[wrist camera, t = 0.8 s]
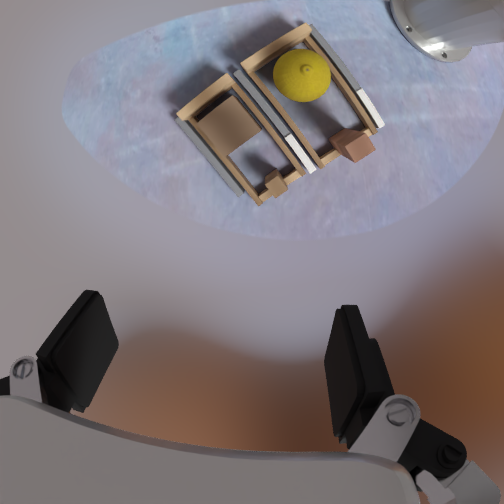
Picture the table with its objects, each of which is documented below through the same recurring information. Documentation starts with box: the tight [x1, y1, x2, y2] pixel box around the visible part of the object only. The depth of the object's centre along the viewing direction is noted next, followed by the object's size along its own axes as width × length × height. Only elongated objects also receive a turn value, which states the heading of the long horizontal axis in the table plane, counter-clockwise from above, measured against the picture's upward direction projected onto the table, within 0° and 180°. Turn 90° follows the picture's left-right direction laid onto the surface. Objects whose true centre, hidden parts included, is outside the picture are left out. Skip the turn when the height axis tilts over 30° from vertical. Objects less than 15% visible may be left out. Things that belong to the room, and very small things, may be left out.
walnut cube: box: [196, 95, 262, 158], centre depth 28 cm, size 4×4×4 cm
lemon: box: [273, 49, 331, 102], centre depth 24 cm, size 6×6×8 cm
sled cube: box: [176, 73, 306, 206], centre depth 29 cm, size 6×14×4 cm, turn 37°
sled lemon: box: [240, 23, 378, 169], centre depth 25 cm, size 8×14×8 cm, turn 37°
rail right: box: [175, 117, 245, 197], centre depth 31 cm, size 1×11×2 cm, turn 38°
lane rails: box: [233, 24, 385, 174], centre depth 27 cm, size 10×14×2 cm
